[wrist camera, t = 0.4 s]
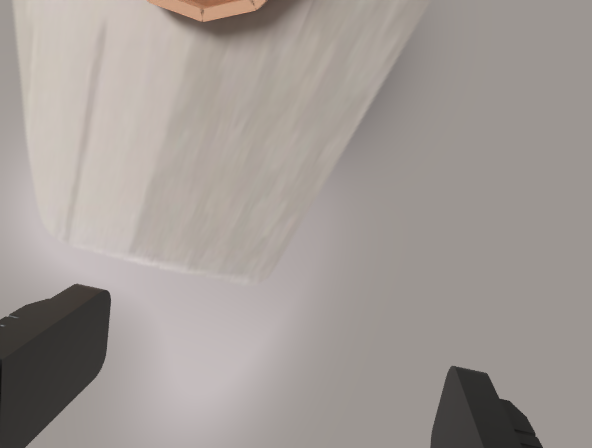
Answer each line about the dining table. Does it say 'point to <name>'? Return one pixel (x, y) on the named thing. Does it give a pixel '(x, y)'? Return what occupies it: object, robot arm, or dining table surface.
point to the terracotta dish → (209, 7)
